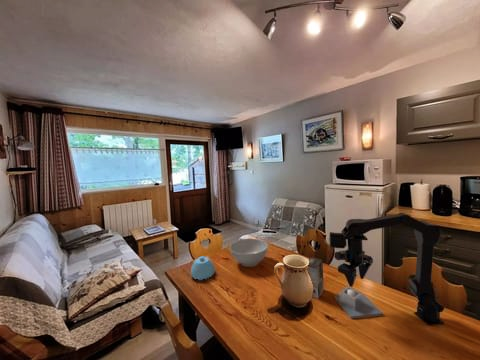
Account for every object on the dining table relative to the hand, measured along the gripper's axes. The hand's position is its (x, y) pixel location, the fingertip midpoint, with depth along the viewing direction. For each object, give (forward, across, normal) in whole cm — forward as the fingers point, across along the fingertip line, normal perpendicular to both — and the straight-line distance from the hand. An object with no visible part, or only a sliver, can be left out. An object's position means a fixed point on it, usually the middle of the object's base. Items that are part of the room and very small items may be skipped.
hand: (356, 282), depth 88 cm
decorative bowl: (+11, +13, -65) cm, 68 cm away
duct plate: (+12, -1, -1) cm, 12 cm away
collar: (+11, +1, -2) cm, 11 cm away
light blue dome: (+11, +45, -72) cm, 86 cm away
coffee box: (+12, +5, -18) cm, 22 cm away
